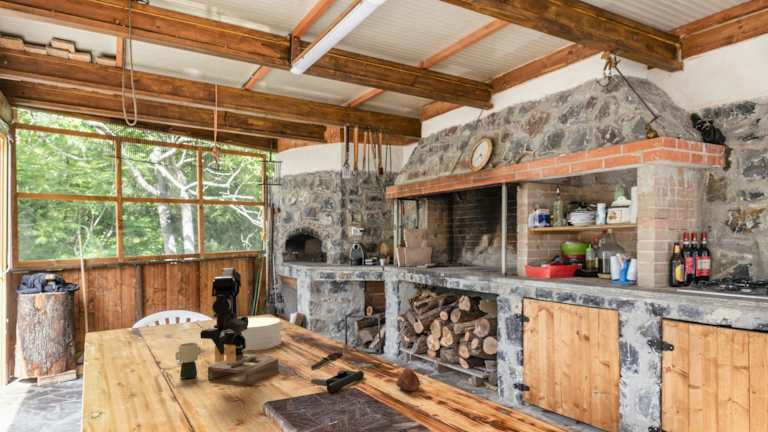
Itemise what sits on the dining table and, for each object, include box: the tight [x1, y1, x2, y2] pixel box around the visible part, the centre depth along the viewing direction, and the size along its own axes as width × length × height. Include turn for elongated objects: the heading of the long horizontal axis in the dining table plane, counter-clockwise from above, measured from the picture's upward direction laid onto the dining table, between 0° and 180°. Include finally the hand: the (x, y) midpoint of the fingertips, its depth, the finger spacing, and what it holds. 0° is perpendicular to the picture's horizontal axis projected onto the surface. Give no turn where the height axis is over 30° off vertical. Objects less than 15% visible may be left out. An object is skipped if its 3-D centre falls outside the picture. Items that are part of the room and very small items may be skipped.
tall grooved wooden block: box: [214, 344, 236, 364], centre depth 170 cm, size 7×3×6 cm, turn 67°
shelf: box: [207, 353, 279, 385], centre depth 185 cm, size 20×18×7 cm
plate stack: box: [241, 316, 282, 352], centre depth 240 cm, size 28×28×12 cm
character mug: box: [175, 342, 202, 379], centre depth 185 cm, size 11×7×13 cm, turn 147°
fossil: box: [395, 368, 421, 392], centre depth 163 cm, size 13×8×10 cm
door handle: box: [310, 370, 365, 393], centre depth 172 cm, size 3×20×16 cm
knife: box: [310, 351, 344, 371], centre depth 202 cm, size 26×7×1 cm, turn 154°
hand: (225, 353), depth 170 cm, fingers closed on tall grooved wooden block, 3 cm apart
